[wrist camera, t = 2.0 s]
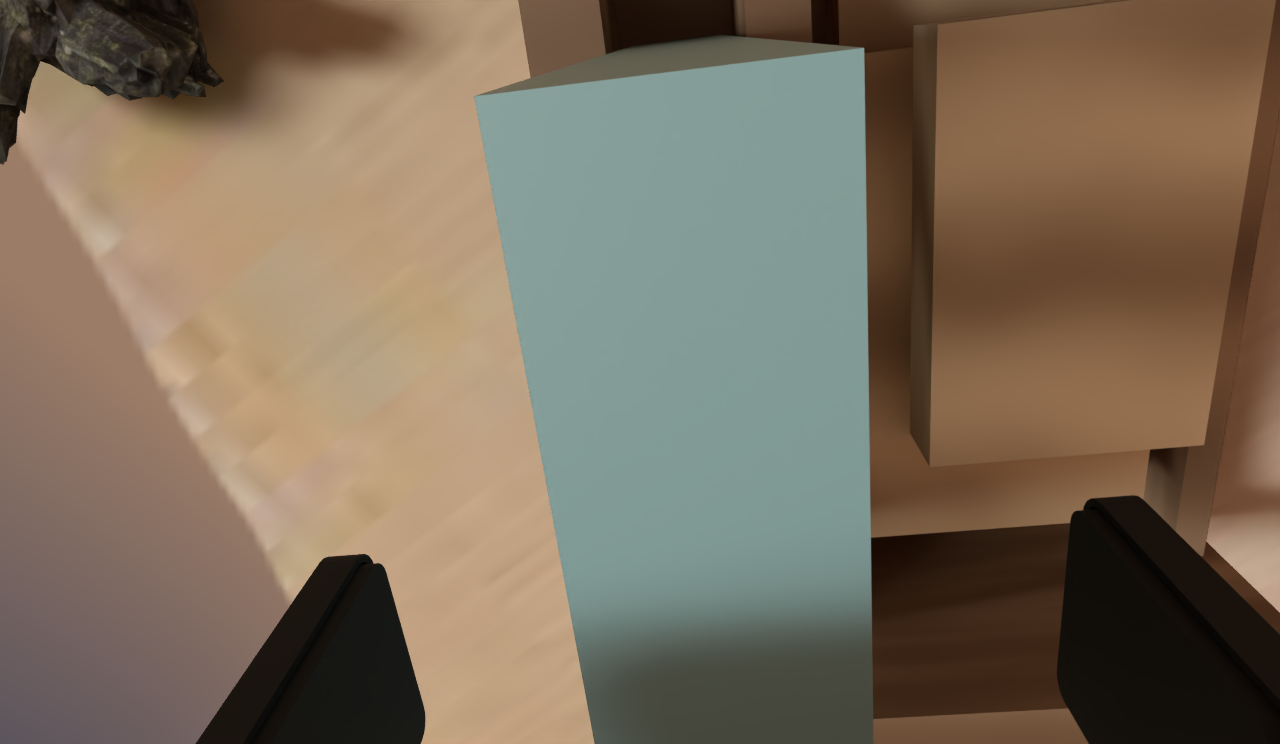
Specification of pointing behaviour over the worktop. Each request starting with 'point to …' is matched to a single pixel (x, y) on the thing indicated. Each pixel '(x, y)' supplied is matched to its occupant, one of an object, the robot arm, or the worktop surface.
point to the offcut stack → (1045, 243)
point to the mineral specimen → (100, 50)
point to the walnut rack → (975, 559)
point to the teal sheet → (700, 378)
